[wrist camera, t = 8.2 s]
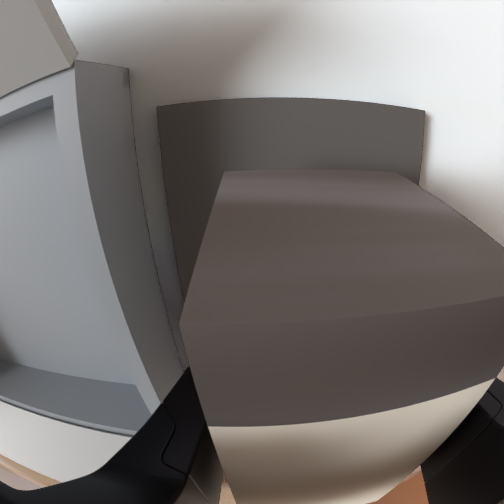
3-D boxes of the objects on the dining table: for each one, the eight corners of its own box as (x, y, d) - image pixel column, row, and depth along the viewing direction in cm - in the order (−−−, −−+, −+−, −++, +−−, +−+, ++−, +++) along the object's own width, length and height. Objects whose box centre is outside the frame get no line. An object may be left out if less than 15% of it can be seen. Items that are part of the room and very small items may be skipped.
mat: (370, 360, 16) (372, 367, 16) (203, 370, 17) (202, 378, 16) (417, 109, 10) (424, 110, 9) (161, 106, 10) (156, 106, 9)
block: (348, 388, 13) (376, 500, 7) (243, 396, 13) (242, 517, 7) (395, 172, 8) (546, 286, 3) (224, 171, 8) (179, 325, 3)
